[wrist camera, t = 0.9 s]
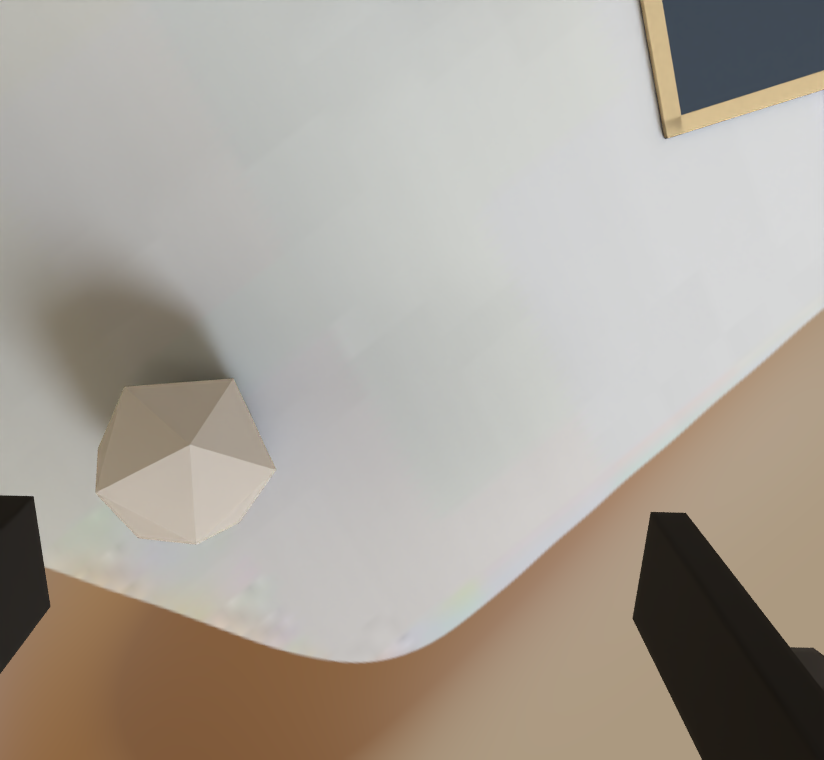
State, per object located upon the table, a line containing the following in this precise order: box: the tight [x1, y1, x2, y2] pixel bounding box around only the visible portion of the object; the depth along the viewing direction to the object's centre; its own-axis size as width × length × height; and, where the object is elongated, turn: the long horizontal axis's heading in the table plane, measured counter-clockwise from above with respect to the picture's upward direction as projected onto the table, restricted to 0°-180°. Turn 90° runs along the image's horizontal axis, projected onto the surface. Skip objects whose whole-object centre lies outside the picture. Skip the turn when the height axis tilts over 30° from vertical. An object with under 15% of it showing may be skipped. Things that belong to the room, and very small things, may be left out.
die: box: [95, 378, 276, 545], centre depth 37 cm, size 8×9×10 cm
